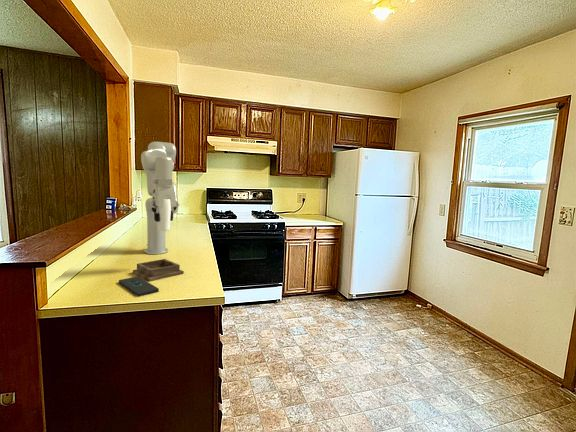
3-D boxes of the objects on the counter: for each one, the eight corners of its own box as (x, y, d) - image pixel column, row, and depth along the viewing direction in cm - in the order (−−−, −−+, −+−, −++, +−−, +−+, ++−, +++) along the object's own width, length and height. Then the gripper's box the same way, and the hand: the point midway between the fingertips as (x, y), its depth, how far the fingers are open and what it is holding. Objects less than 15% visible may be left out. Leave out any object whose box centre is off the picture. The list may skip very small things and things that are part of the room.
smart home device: (138, 275, 132) (159, 288, 119) (138, 279, 133) (159, 292, 120) (117, 279, 126) (137, 293, 113) (117, 283, 127) (137, 298, 113)
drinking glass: (166, 231, 143) (165, 199, 142) (153, 230, 144) (152, 198, 143) (174, 229, 150) (173, 198, 148) (161, 228, 151) (161, 198, 149)
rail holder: (132, 272, 140) (132, 263, 139) (165, 266, 152) (165, 257, 152) (149, 281, 130) (149, 271, 129) (183, 273, 142) (183, 264, 141)
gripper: (149, 182, 136) (150, 223, 138) (184, 183, 149) (184, 220, 151) (141, 182, 140) (142, 221, 142) (176, 183, 154) (176, 219, 156)
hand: (163, 220), depth 147 cm, fingers closed on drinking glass, 6 cm apart
